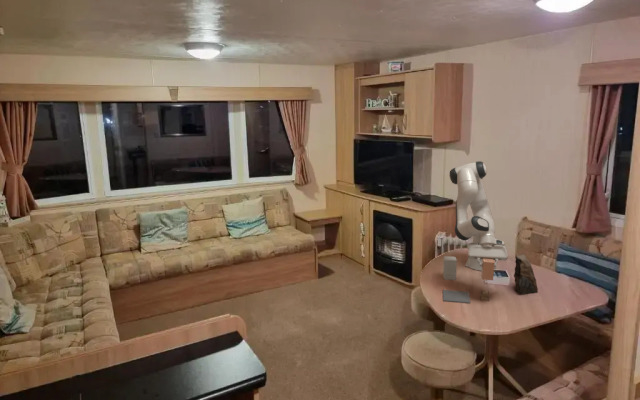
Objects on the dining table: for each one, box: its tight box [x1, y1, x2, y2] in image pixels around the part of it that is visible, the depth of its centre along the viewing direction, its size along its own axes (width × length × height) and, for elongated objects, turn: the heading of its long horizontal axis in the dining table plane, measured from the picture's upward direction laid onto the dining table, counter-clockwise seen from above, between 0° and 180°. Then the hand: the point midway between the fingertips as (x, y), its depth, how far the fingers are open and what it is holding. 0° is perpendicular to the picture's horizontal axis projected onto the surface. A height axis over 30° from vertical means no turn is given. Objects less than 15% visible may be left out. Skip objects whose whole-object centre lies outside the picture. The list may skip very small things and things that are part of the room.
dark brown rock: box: [513, 253, 539, 296], centre depth 246 cm, size 13×13×20 cm
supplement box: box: [442, 255, 458, 281], centre depth 267 cm, size 7×7×13 cm
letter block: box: [480, 290, 490, 302], centre depth 237 cm, size 4×4×4 cm
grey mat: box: [442, 289, 471, 304], centre depth 241 cm, size 14×14×1 cm
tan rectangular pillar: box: [480, 259, 495, 281], centre depth 233 cm, size 5×5×10 cm
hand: (487, 266), depth 233 cm, fingers closed on tan rectangular pillar, 5 cm apart
